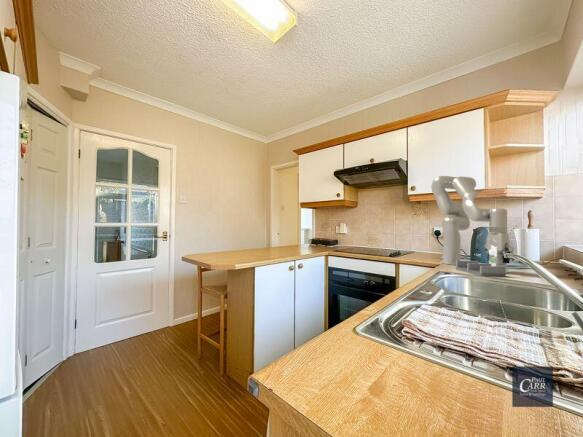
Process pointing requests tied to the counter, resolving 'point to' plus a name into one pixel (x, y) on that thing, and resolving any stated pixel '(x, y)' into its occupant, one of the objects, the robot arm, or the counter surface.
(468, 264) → the slot rack
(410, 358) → the counter surface
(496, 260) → the syrup box
